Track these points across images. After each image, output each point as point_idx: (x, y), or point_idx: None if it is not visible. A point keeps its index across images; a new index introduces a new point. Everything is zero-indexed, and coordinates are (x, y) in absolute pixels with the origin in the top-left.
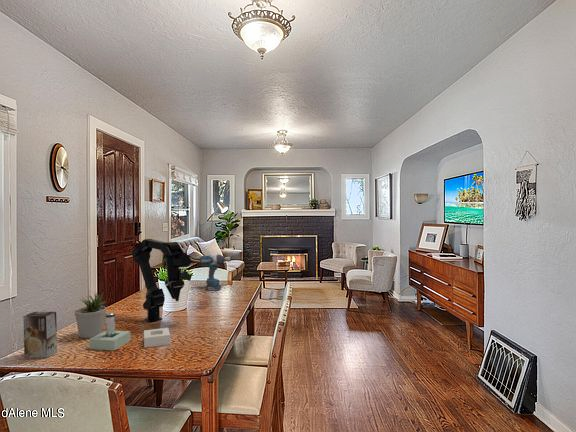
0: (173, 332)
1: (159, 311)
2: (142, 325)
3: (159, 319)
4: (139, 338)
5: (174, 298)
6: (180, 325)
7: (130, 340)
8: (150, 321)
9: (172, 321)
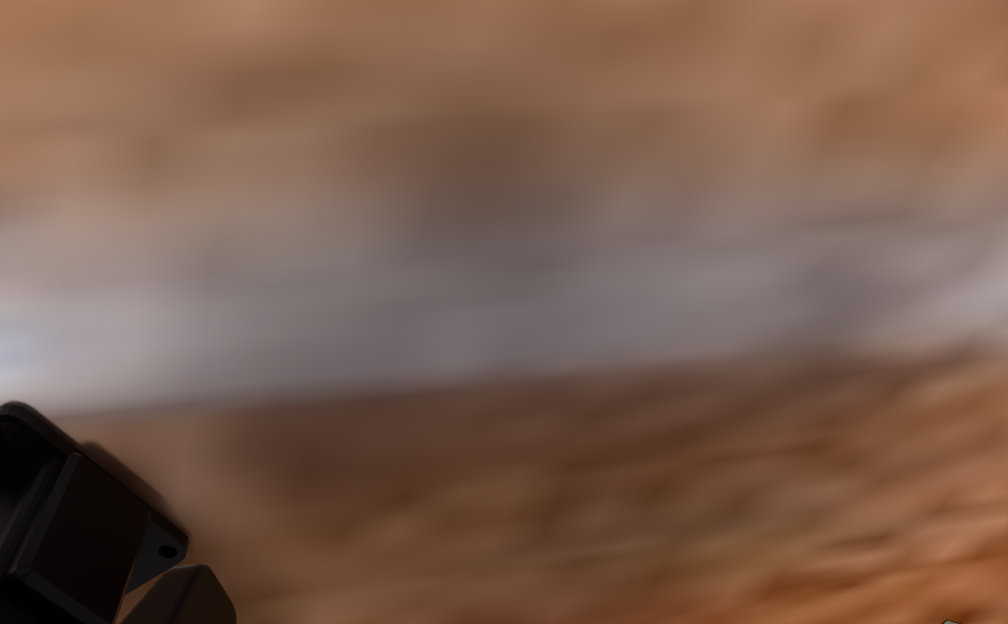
0: (902, 138)
1: (18, 568)
2: (334, 609)
3: (66, 447)
4: (920, 552)
5: (212, 584)
6: (499, 22)
7: (947, 621)
8: (184, 554)
9: (165, 207)
